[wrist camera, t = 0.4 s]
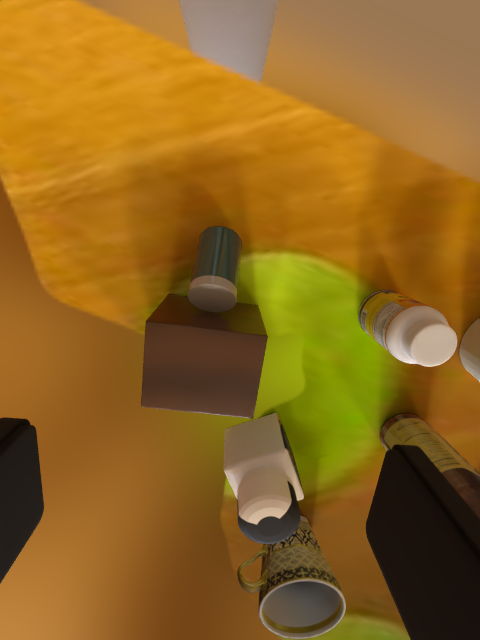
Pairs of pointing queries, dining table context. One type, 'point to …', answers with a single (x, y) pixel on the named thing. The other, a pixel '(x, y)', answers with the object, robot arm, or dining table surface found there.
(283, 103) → the dining table surface
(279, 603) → the ceramic cup
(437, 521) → the robot arm
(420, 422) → the sauce bottle
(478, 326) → the reusable coffee cup
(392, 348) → the supplement bottle
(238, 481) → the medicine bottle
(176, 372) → the box
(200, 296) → the cylinder
